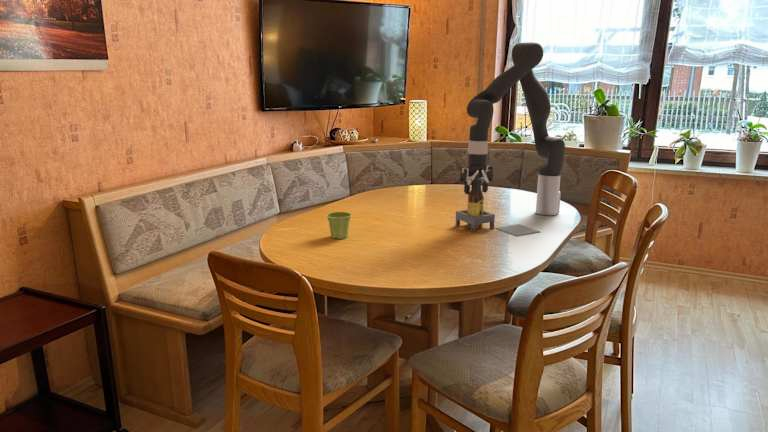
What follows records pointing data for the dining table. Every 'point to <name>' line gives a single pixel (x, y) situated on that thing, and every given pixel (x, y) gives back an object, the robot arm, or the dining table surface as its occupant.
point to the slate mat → (518, 230)
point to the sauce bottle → (475, 201)
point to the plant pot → (339, 224)
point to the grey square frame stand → (475, 219)
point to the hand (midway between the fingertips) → (475, 193)
